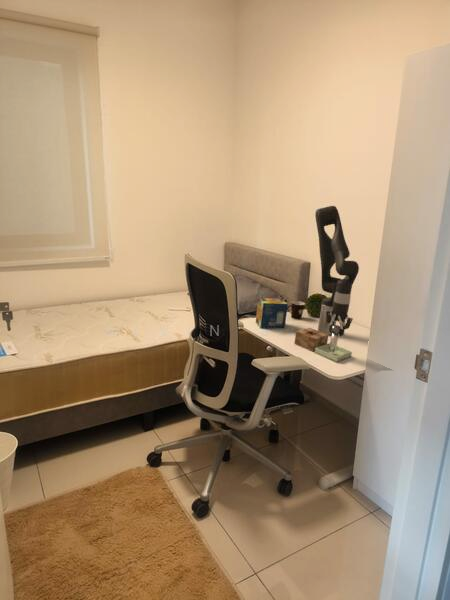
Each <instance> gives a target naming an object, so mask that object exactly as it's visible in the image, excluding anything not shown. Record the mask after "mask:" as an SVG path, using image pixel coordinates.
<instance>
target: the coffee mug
mask: <svg viewBox="0 0 450 600" xmlns="http://www.w3.org/2000/svg"><path fill="white" fill-rule="evenodd" d="M305 305H306V303H305V302H303V301H299V300H293V301H291V304H290V305H288V307H287V312H288V313H289V314H290V315H291V316H290V317H291V319H294V320H301V319H302V318H303V314H304V313H303V312H304V309H305ZM290 307H291V308H290ZM289 308H290V309H291V310H289Z"/></svg>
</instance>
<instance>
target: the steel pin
mask: <svg viewBox="0 0 450 600" xmlns="http://www.w3.org/2000/svg"><path fill="white" fill-rule="evenodd" d="M340 329H341V327H340V325H339V324H338V325H337V324H336V325H332V328H331V332H332V335H331V337H330V342H329V343H330V346H329V351H330V352H335V350H336V346H338V345H337V344H338V340H339V337H340V336H339V333H340Z"/></svg>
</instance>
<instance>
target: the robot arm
mask: <svg viewBox="0 0 450 600" xmlns="http://www.w3.org/2000/svg"><path fill="white" fill-rule="evenodd" d="M315 223H316V228H317V234H318V243H319V256H320V257H319V258H320V267H321V289H322V291H323V292H325V293H329V294H331V296H330V297H324V298H323V299H322V300H321V307H320V314H319V319H318V328H317V331H320V332H322V333H325V334H328V336H332V332H331V328H332V325H337V322H339V324H338V325H339V326H340V327H341V329H340V333H339V336H338V337H343V336H345V330H347V329H350V326H351V324H352V322H353V320H354V319H353V317H350V316H348V313H349V308H350V303H351V297H352V296H351V295H352V287H353V285H354V283H355V281H356V278H357V277H358V274H359V270H360V266H359V263H358V262H357V261H355V260H346V259H348V258H349V257H350V254H351V253H350V249H349V248H348V245H347V241H346V238H345V235H344V231H343V230H344V229H343V226H342V222H341V217H340V213H339V210H338V208H337V207H336V206H335V205H329V206H325V207H321V208H318V209H316V210H315ZM331 225H333V226H334V232H333V235H332V237H330V236H329V235H328V232H327V231H326V230H325V227H327V226H331ZM334 266H335V271H336V273H337V274H338V275H339V276H344V277H343V278H340V277H339V278H338V277H335V276H332V275H331V269H332V268H333V267H334Z"/></svg>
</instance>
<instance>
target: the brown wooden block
mask: <svg viewBox="0 0 450 600" xmlns="http://www.w3.org/2000/svg"><path fill="white" fill-rule="evenodd" d="M328 341H329V335H328V334H325V333H322V332H320V331H318V329H314V328H311V327H308V328H304V329H301V330H297V331H295V337H294V345H296V346H298V347H301V348H303V349H306V350H307V351H310V352H312V353H315V348H317V347H320V346H323V345H326V344H328Z"/></svg>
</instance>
